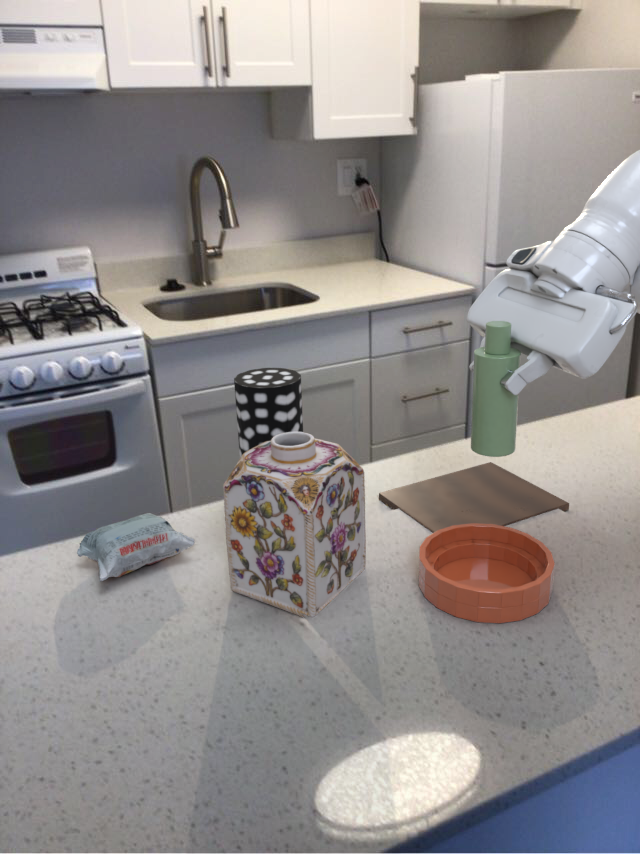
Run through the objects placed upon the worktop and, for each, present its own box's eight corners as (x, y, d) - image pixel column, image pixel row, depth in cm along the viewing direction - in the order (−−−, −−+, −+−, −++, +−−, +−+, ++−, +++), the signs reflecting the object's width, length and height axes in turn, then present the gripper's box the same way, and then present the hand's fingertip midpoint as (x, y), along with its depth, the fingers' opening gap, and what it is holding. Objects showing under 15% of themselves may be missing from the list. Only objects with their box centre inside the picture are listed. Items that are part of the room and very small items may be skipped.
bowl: (491, 544, 93) (493, 512, 92) (579, 603, 82) (583, 567, 80) (393, 577, 87) (394, 543, 86) (473, 646, 75) (475, 608, 74)
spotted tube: (253, 504, 106) (243, 367, 98) (311, 507, 104) (306, 368, 97) (237, 533, 98) (225, 387, 91) (300, 537, 97) (293, 388, 89)
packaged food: (196, 560, 92) (192, 524, 90) (102, 595, 86) (96, 557, 84) (165, 533, 99) (161, 499, 97) (76, 564, 92) (70, 528, 91)
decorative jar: (313, 625, 79) (307, 469, 73) (227, 593, 85) (214, 446, 79) (369, 571, 89) (368, 429, 82) (288, 546, 95) (281, 411, 88)
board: (490, 467, 115) (490, 461, 114) (569, 509, 101) (569, 503, 101) (378, 499, 106) (378, 492, 106) (448, 549, 93) (448, 542, 92)
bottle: (495, 437, 86) (500, 316, 81) (524, 450, 82) (532, 324, 77) (461, 446, 84) (465, 322, 79) (490, 460, 80) (496, 331, 75)
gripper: (662, 318, 72) (568, 430, 72) (535, 283, 90) (460, 373, 90) (629, 275, 69) (531, 392, 69) (505, 248, 87) (428, 341, 88)
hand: (490, 381), depth 80 cm, fingers closed on bottle, 5 cm apart
